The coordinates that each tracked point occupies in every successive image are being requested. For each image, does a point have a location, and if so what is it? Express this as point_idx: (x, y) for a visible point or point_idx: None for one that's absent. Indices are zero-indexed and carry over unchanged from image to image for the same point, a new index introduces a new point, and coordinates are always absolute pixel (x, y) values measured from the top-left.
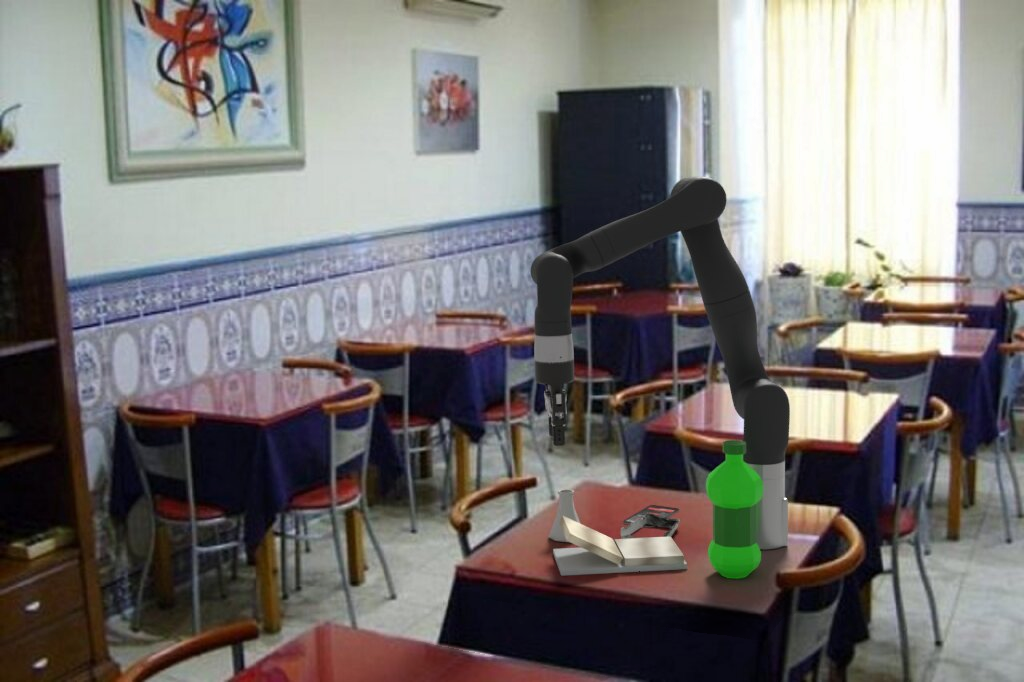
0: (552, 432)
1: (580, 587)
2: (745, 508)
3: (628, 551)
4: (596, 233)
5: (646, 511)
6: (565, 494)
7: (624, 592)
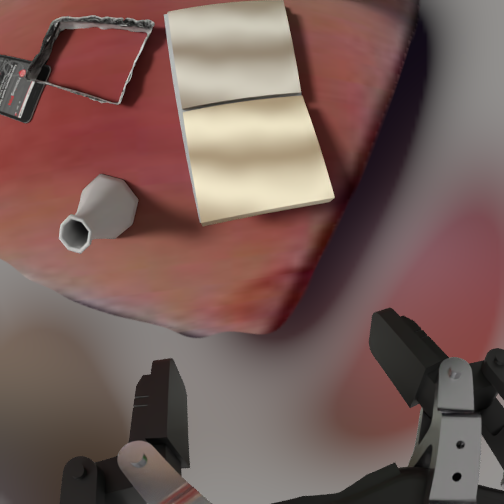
0: (183, 393)
1: (359, 169)
2: None
3: (260, 82)
4: None
5: None
6: (92, 233)
7: (379, 109)
